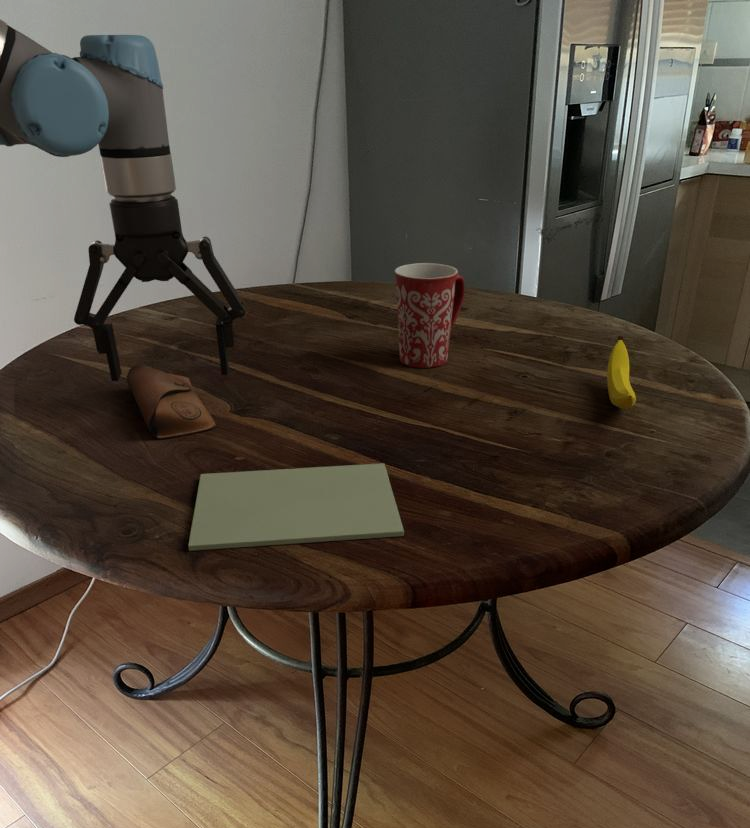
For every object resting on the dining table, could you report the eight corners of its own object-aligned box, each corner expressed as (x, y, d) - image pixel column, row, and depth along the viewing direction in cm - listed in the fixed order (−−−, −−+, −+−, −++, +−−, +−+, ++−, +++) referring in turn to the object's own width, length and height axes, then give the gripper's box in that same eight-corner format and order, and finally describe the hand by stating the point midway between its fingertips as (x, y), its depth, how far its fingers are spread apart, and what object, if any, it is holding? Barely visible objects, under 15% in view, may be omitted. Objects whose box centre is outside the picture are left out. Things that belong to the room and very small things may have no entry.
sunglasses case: (221, 424, 90) (187, 385, 86) (176, 460, 90) (139, 422, 86) (188, 377, 104) (157, 341, 100) (149, 408, 104) (116, 373, 100)
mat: (188, 551, 67) (187, 545, 67) (201, 478, 79) (200, 473, 79) (404, 536, 69) (404, 530, 69) (384, 467, 81) (384, 463, 81)
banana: (611, 433, 89) (620, 383, 86) (602, 377, 105) (609, 334, 102) (636, 435, 89) (645, 385, 85) (623, 379, 105) (631, 335, 101)
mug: (423, 375, 106) (426, 280, 99) (381, 359, 112) (381, 269, 105) (481, 355, 113) (487, 266, 107) (439, 342, 119) (442, 256, 112)
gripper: (254, 188, 87) (269, 359, 98) (37, 194, 85) (77, 369, 96) (253, 197, 81) (269, 379, 92) (18, 205, 79) (63, 390, 89)
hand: (171, 374), depth 94 cm, fingers open, 13 cm apart
